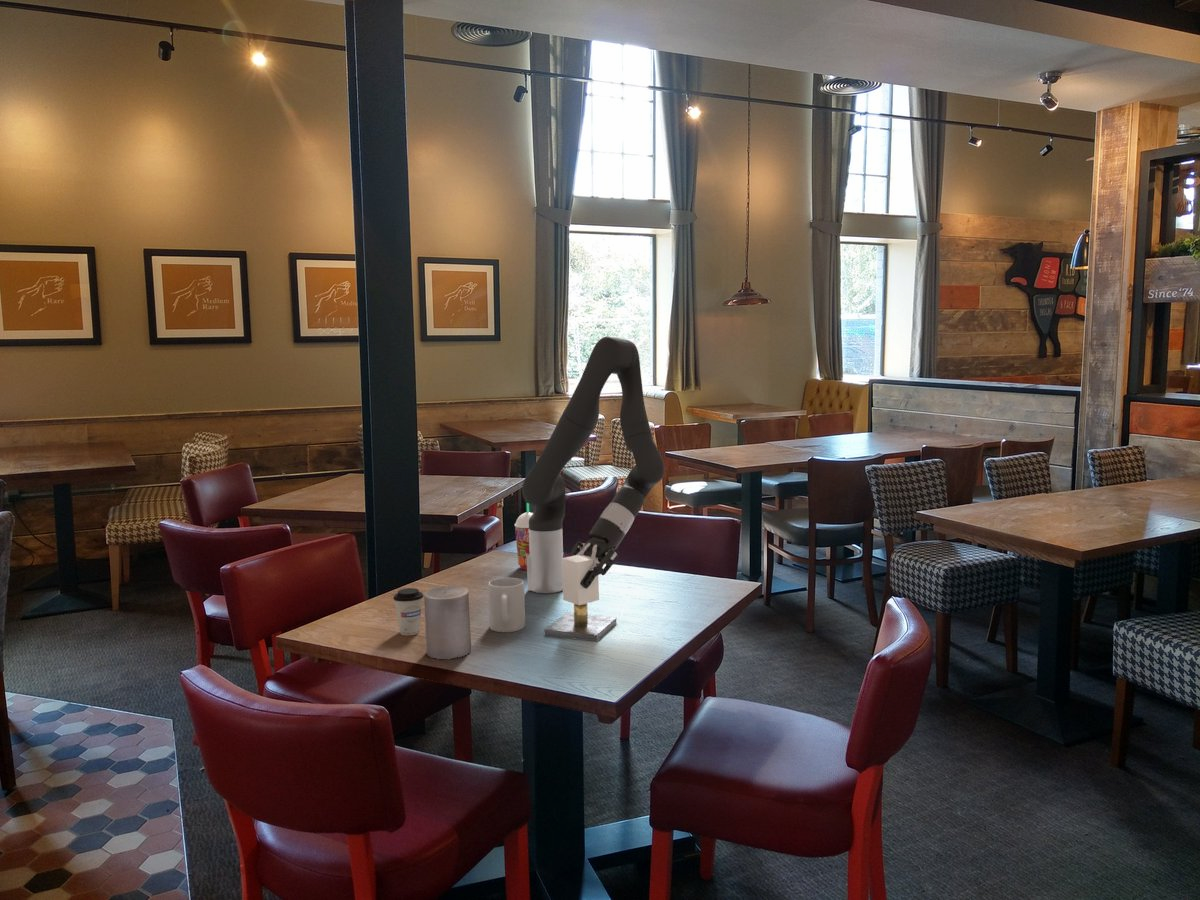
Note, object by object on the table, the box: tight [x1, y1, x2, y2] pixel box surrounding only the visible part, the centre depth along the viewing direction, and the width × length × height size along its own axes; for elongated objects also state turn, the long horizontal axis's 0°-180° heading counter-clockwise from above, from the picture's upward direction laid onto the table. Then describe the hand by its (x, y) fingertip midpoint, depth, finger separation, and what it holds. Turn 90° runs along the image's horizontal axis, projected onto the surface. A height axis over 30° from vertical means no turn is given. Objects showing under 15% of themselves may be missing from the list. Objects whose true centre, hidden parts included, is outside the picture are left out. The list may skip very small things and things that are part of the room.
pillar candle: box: [423, 585, 472, 660], centre depth 184 cm, size 10×10×15 cm
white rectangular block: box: [562, 555, 600, 605], centre depth 196 cm, size 6×6×10 cm
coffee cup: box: [393, 587, 424, 636], centre depth 198 cm, size 7×7×10 cm
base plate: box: [543, 603, 617, 642], centre depth 197 cm, size 13×13×8 cm
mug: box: [487, 577, 526, 633], centre depth 199 cm, size 12×8×11 cm
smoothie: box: [514, 502, 534, 571], centre depth 255 cm, size 8×8×20 cm
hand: (574, 583), depth 195 cm, fingers closed on white rectangular block, 6 cm apart
